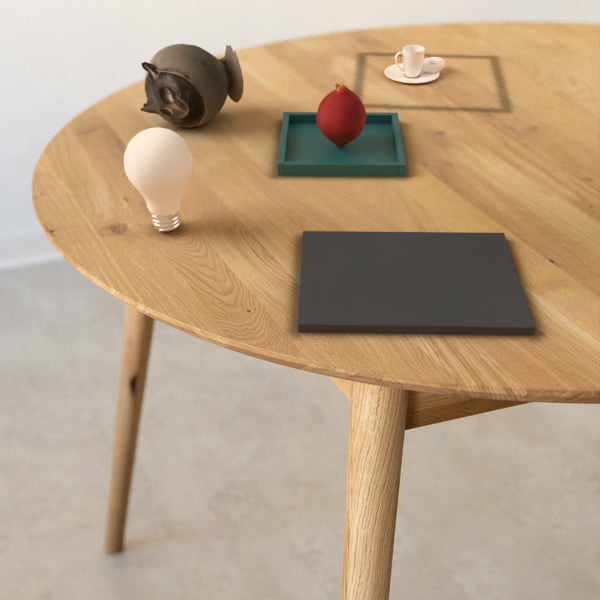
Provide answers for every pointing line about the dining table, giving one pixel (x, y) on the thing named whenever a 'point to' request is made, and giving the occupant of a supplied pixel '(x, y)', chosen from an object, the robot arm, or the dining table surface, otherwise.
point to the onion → (341, 115)
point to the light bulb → (159, 173)
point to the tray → (341, 148)
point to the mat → (410, 284)
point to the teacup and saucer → (415, 66)
